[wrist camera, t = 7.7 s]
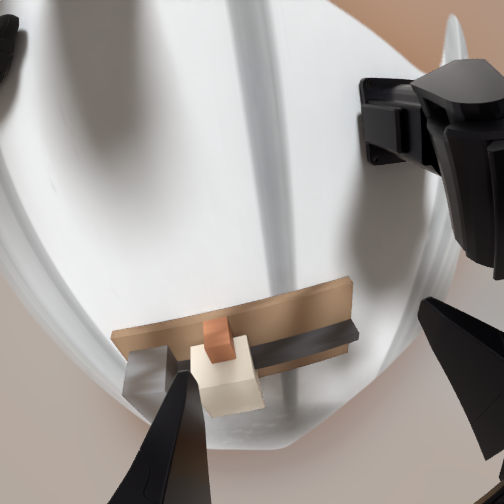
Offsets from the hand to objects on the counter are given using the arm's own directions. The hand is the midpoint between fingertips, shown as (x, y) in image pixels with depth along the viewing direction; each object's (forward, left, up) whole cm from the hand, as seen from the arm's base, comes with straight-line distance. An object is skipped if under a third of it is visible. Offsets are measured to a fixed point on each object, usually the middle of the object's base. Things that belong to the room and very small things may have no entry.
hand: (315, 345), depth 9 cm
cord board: (+4, +13, -12) cm, 18 cm away
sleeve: (+6, +13, -11) cm, 17 cm away
